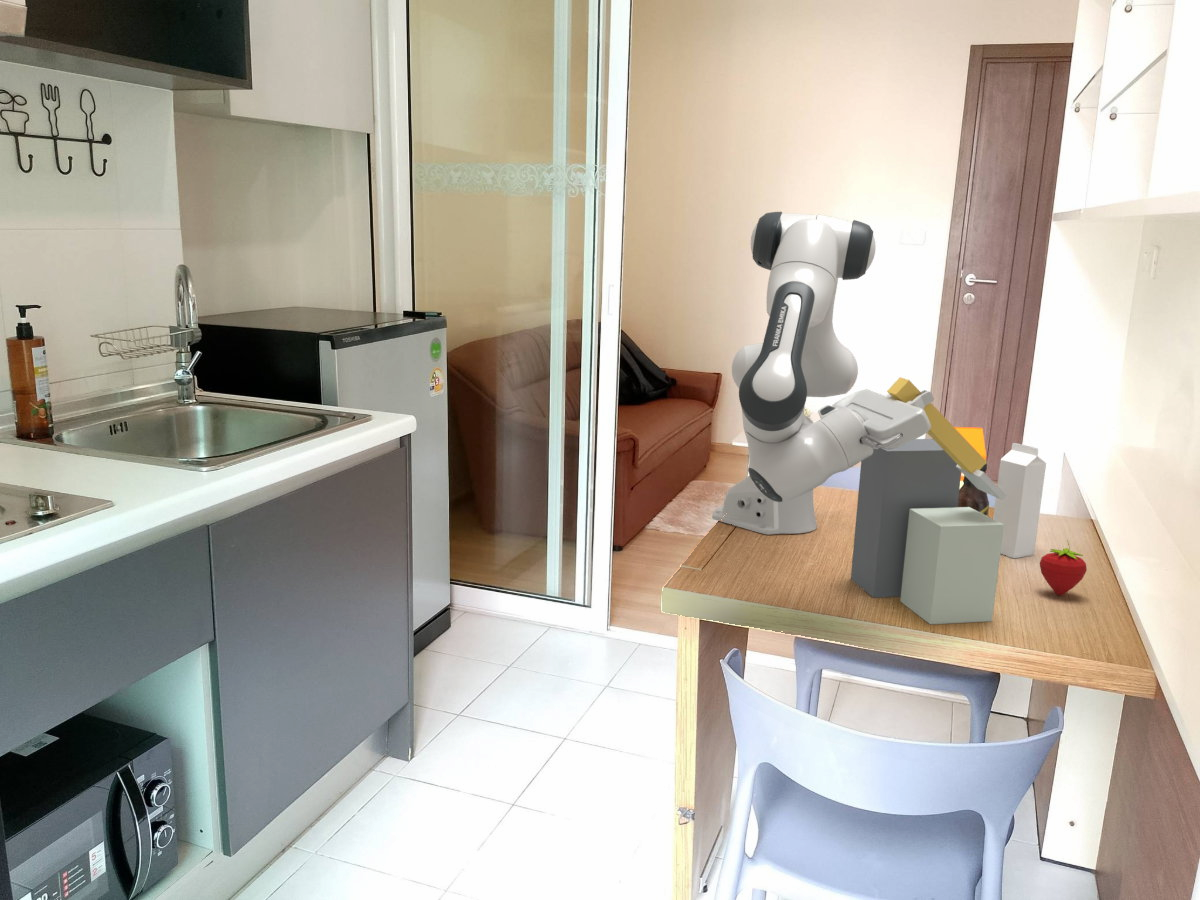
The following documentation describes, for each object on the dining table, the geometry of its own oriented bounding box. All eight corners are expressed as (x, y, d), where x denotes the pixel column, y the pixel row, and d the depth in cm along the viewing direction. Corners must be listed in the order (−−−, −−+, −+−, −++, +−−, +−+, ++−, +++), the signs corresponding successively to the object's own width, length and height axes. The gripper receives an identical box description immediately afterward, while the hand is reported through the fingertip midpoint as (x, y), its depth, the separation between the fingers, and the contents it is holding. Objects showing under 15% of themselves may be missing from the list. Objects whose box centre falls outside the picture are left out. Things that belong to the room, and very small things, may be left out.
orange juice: (979, 518, 214) (989, 431, 210) (940, 517, 215) (949, 430, 210) (966, 508, 222) (976, 424, 218) (928, 507, 222) (937, 423, 218)
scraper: (902, 396, 146) (915, 382, 146) (880, 389, 152) (893, 375, 152) (1002, 500, 153) (1015, 486, 153) (977, 488, 160) (990, 475, 160)
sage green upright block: (930, 624, 154) (941, 526, 150) (900, 601, 164) (909, 508, 160) (991, 621, 156) (1004, 524, 152) (958, 598, 166) (969, 507, 162)
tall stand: (873, 597, 165) (887, 451, 159) (850, 579, 173) (863, 439, 168) (947, 594, 167) (963, 449, 162) (921, 576, 176) (936, 438, 170)
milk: (1013, 559, 187) (1027, 450, 182) (988, 549, 193) (1001, 443, 187) (1034, 554, 190) (1049, 447, 185) (1009, 545, 195) (1022, 440, 190)
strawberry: (1033, 586, 172) (1040, 533, 170) (1079, 592, 170) (1087, 538, 168) (1038, 598, 167) (1045, 543, 165) (1085, 603, 165) (1093, 548, 163)
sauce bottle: (985, 568, 181) (997, 467, 177) (950, 565, 182) (962, 464, 178) (979, 557, 187) (990, 459, 183) (945, 554, 189) (956, 457, 184)
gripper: (870, 432, 139) (950, 385, 139) (814, 407, 158) (885, 366, 159) (886, 468, 140) (966, 421, 141) (829, 439, 160) (899, 398, 161)
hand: (922, 392), depth 150 cm, fingers closed on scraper, 3 cm apart
